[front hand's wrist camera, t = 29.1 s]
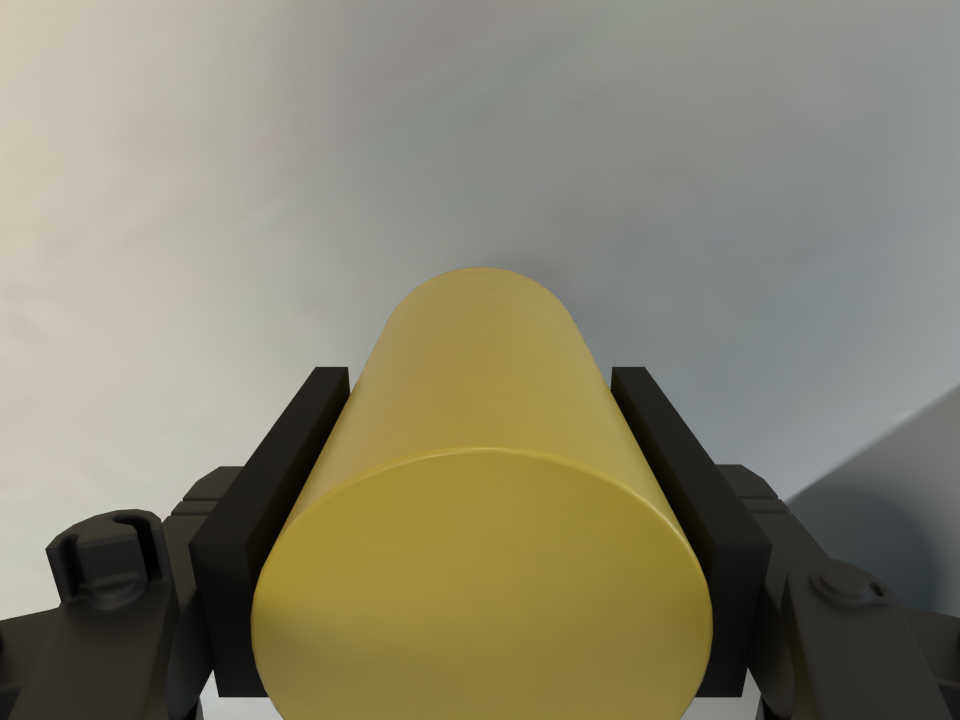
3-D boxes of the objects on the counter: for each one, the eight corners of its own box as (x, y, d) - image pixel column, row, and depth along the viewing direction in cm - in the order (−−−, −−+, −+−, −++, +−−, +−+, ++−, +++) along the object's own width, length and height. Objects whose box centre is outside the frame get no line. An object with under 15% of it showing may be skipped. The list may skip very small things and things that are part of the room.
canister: (609, 423, 18) (757, 749, 9) (424, 483, 19) (365, 848, 9) (546, 234, 16) (646, 376, 7) (342, 310, 17) (158, 539, 7)
